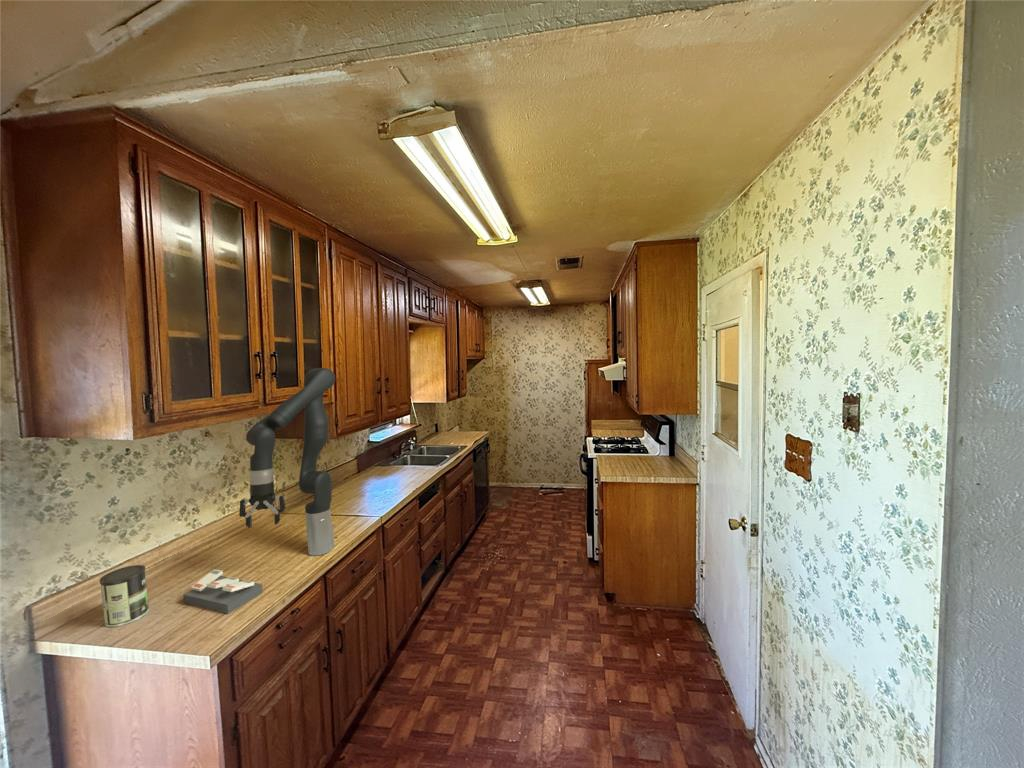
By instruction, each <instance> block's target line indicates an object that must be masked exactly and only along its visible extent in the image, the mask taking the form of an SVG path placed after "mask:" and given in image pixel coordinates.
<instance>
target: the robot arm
mask: <svg viewBox="0 0 1024 768" xmlns="http://www.w3.org/2000/svg"><path fill="white" fill-rule="evenodd" d="M303 381H304V382H303V383H304V387H303V388H301V390H299V391H297V392H296V393H295V394H293V395H292V396H290V397H289V398H287V399H286V400H284V401H283V402H282V403H280V404H279V405H278V406H277V407H276V408H275V409H273V411H272V412H270V414H268V415H267V416H266V417H264V418H263V419H260V421H258V422H257V423H255V424H253V426H252V427H251V428H250V429H248V431H247V432H246V435H245V439H246V440H245V441H247V443H248V444H250V445H252V446H253V447H254V450H253V451H254V452H253V453H252V454H251V455H250V458H249V466H250V467H249V469H250V472H249V495H250V497H249V498H245V497H244V498H242V499H240V501H239V517H240V518H242V517H243V518H245V526H246V527H247V528H248V529H250V528H252V526H253V520H252V519H253V517H252V514H253V512H254V511H255V510H257V511H261V510H268V509H269V510H270V511H272V512H273V514H274V525H276V526H277V525H278V524H279V523H280V521H281V513H283V512H285V510H286V502H285V501H286V499H285V494H283V493H282V494H281V495H276V494H275V475H274V474H275V473H274V469H273V468H274V466H273V465H274V464H273V463H274V462H273V456H274V455H273V454H274V451H275V446H276V434H275V432H276V431H278V430H281V429H283V428H285V427H286V426H287V425H288V424H290V422H291V421H292V420H293V419H295V418H296V416H297V415H299V413H300V412H301V411H303V410H304V424H303V444H302V447H303V448H302V457H301V466H300V471H299V472H300V473H299V477H298V487H299V490H300V491H301V492H302V493H303V494H309V495H313V500H312V501H309V502H307V503H306V504H305V506H304V511H305V512H304V513H305V524H306V525H305V526H306V527H305V529H306V540H307V541H306V543H307V544H306V545H307V554H308V555H309V556H322V555H325V554H328V553H329V552H331V551H332V550H333V548H334V547H335V535H334V534H335V533H334V532H335V531H334V525H333V523H332V515H331V503H332V496H333V495H332V492H333V489H332V488H333V486H332V478H331V474H330V473H329V472H328V471H324V470H317V462H318V458H319V456H320V454H321V451H322V450H323V449H324V447H325V446H326V444H327V442H328V438H329V433H330V432H329V429H330V428H329V427H330V426H329V425H330V422H329V417H328V414H327V411H326V408H325V406H324V393H325V392H326V391H328V390H329V389H331V388H332V387H333V385H334V384H335V383H336V375H335V373H334V372H333V370H331V369H330V368H328V367H327V368H326V367H318V368H312V369H309V370H308V371H307V372H306V373H305V375H304V380H303ZM275 500H276V501H277V502H278V503H279V508H278V506H277V505H276V504H275ZM248 504H250V505H251V508H250V509H249V510H248V511H246V506H247V505H248Z"/></svg>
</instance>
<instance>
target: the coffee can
mask: <svg viewBox="0 0 1024 768" xmlns="http://www.w3.org/2000/svg"><path fill="white" fill-rule="evenodd" d="M146 577H147V576H146V565H144V564H138V565H137V564H136V565H129V566H125V567H120V568H118V569H115V570H112V571H110V572H108V573H106V574H104V575H103V576H102V577H100V578H99V583H100V591H101V598H102V599H101V600H102V608H103V609H102V610H103V617H104V618H103V619H104V626H105V627H107V628H117V627H121V626H122V627H123V626H125V625H127V624H131V623H133V622H136V621H138V620H139V619H141V618H142V617H144V616H146V615H147V614H148V613H149V612H150V607H149V597H148V586H147V578H146Z"/></svg>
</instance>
